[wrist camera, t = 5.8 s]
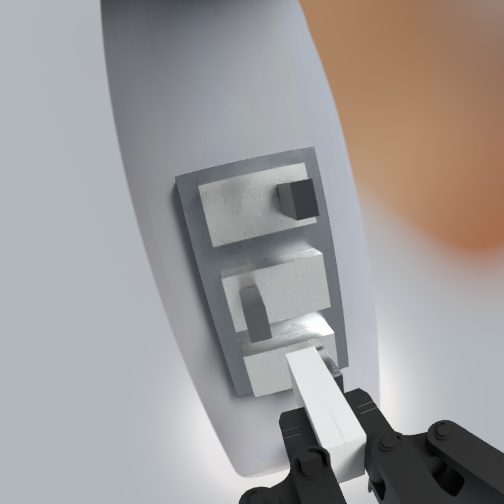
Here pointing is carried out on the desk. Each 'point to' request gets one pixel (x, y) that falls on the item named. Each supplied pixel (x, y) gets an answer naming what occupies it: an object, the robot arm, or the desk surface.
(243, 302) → the breaker
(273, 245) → the breaker panel
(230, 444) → the desk surface
